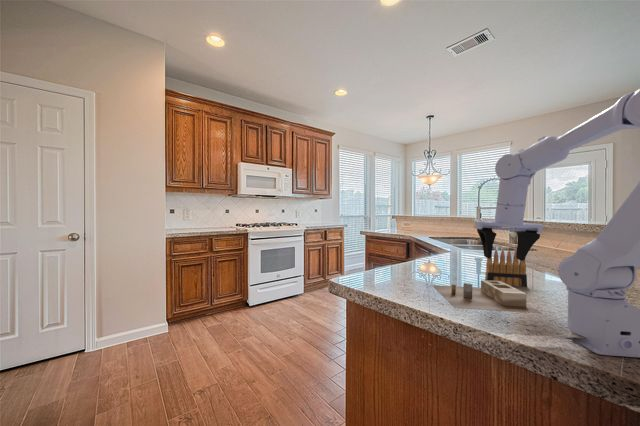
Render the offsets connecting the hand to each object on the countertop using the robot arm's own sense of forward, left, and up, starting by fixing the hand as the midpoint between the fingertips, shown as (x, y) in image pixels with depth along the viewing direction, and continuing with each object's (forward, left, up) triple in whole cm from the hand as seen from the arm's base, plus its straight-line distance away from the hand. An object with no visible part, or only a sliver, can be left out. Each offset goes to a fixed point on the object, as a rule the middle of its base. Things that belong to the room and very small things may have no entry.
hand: (503, 258), depth 65 cm
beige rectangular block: (+1, 0, -10) cm, 10 cm away
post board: (+1, +6, -12) cm, 13 cm away
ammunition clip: (+14, -8, -12) cm, 20 cm away
